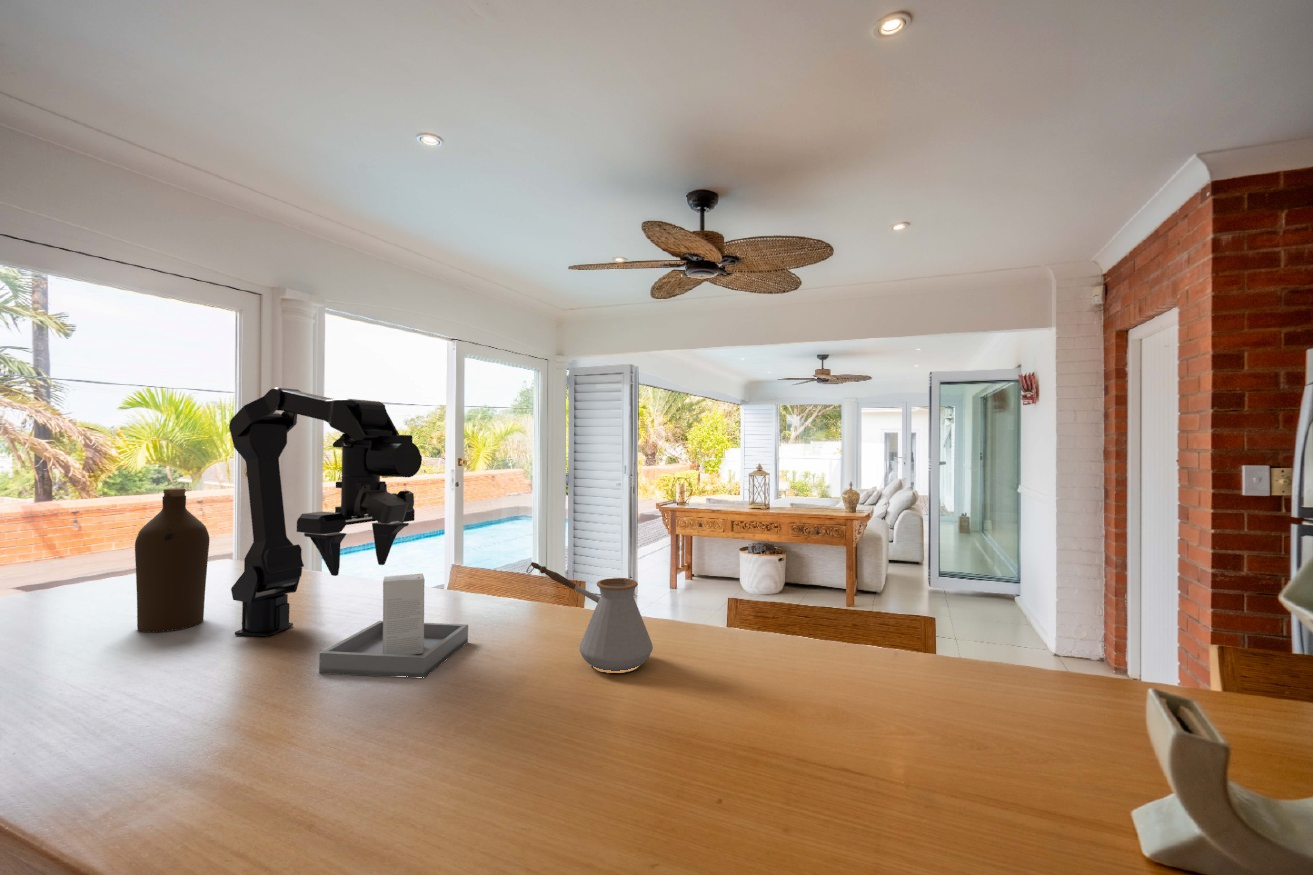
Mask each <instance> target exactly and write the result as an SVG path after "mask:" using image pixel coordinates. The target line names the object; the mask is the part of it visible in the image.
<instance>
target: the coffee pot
mask: <svg viewBox="0 0 1313 875" xmlns="http://www.w3.org/2000/svg"><path fill="white" fill-rule="evenodd" d="M531 567H532V568H531ZM530 568H531V570H530V571H529V569H530ZM534 570H538V571H539V572H540V574H545V575H546V576H547V577H549V578H550V580H552V581H554V582H557V583H558V584H561V585H562V586H565V587H567V588H569V589H570V590H571V589H572V590H573V591H576V592H577V593H579V594H581V595H583V596H584V597H586V598H588V599H590V600H591V601H594V602H595V603H597V604H596V606H595V608H594V610H593V614H592V615H591V618H590V620H589V622H588V624H587V627H586V630H585V632H584V634H583V636H582V638H581V641H580V642H579V652H580V655H581V656H582V658H583V659H584V661H585V662H586V663H587V664H588V665H590V666H591V665H592V666H594V667H596V668H599V669H603V670H611V671H620V670H628V669H631V668H635V667H637V666H639V665H640V666H642V664H644V663H646V661H647V660H648V659H649V658H650V656H651V653H652V652H653V650H654V646H653V643H652V640H651V638H650V637H651V636H650V634H649V633H648V630H647V628H646V625H645V622H644V619H643V617H642V614H641V612H640V610H639V607H638V604H637V602H636V600H635V597H634V594H635V589H636V588H637V586H638V582H637V581H636V580H634V579H630V578H626V577H615V578H614V577H613V578H612V577H611V578H603V579H601V580H598V581H597V582H596V586H597V587H598V589H599V592H600V596H599V595H596V594H594V593H592V592H591V591H588V590H586V589H585V588H582V587H581V586H578V585H577V584H576V583H574V582H573V581H571V580H569V579H568V578H567V577H565V576H563V575H561V574H560V573H558V572H556V571H553V570H551V569H547V567H546V566H545V565H542V566H541V564H539V563H537V562H534V561H532V562H531V563H530V564H529V565H528V567H527V569H526V573H527V574H531V573H533V571H534Z"/></svg>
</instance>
